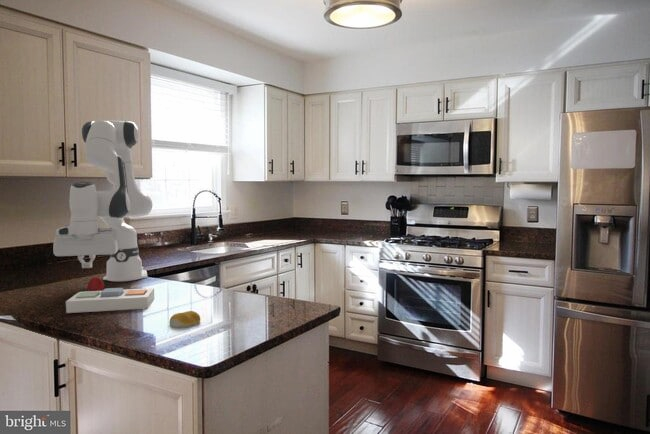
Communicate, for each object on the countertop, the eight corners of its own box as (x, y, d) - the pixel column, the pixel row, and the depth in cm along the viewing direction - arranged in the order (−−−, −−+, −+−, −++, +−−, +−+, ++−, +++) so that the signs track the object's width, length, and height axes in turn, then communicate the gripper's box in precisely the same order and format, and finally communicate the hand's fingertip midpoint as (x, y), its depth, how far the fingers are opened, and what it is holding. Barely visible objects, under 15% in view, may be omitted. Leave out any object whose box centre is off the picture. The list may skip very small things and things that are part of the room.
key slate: (105, 296, 168) (105, 288, 168) (123, 295, 169) (123, 287, 169) (101, 300, 162) (100, 292, 162) (119, 299, 164) (119, 291, 163)
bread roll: (205, 322, 146) (205, 310, 145) (181, 330, 138) (181, 317, 138) (188, 318, 150) (188, 306, 150) (164, 325, 143) (164, 312, 143)
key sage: (82, 300, 167) (81, 292, 167) (99, 299, 168) (99, 291, 168) (76, 305, 161) (76, 296, 161) (95, 304, 162) (94, 295, 162)
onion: (86, 297, 177) (85, 277, 177) (89, 294, 183) (88, 274, 182) (103, 296, 179) (102, 276, 178) (105, 293, 184) (105, 273, 184)
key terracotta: (129, 298, 170) (129, 290, 170) (146, 297, 171) (146, 289, 171) (125, 302, 164) (125, 294, 164) (143, 301, 165) (143, 293, 165)
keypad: (79, 302, 170) (79, 291, 170) (154, 298, 175) (154, 288, 175) (66, 313, 157) (65, 301, 156) (147, 308, 162) (147, 297, 161)
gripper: (119, 226, 168) (120, 264, 169) (57, 228, 164) (59, 267, 165) (114, 228, 161) (116, 268, 163) (50, 230, 158) (52, 270, 159)
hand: (87, 267), depth 164 cm, fingers closed
